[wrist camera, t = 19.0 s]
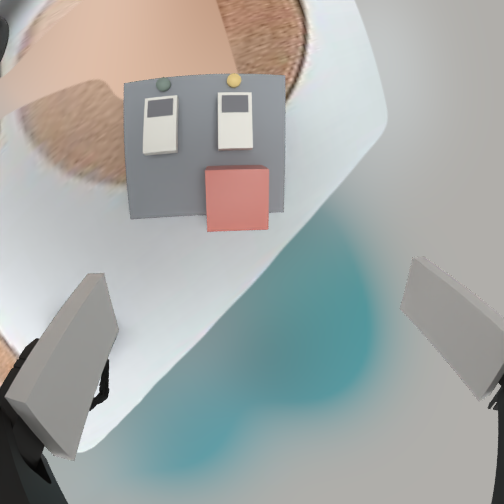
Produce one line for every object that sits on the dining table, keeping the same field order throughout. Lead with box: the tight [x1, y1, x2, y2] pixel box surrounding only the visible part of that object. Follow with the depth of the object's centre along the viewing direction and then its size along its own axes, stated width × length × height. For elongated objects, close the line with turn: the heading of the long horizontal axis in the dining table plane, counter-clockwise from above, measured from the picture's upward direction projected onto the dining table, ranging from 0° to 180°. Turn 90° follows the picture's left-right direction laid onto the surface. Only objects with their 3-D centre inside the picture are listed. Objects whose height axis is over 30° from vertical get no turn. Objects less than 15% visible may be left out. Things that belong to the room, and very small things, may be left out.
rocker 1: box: [143, 95, 179, 156], centre depth 27 cm, size 6×4×2 cm, turn 0°
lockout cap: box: [205, 165, 269, 232], centre depth 31 cm, size 6×6×5 cm
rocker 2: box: [218, 92, 253, 151], centre depth 28 cm, size 6×4×2 cm, turn 0°
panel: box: [124, 74, 285, 219], centre depth 32 cm, size 17×19×4 cm
